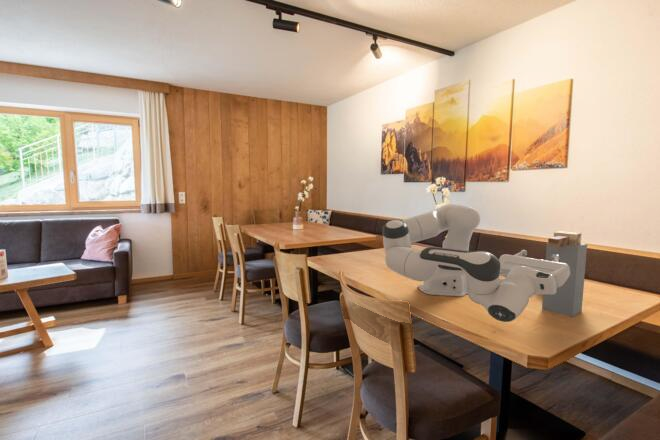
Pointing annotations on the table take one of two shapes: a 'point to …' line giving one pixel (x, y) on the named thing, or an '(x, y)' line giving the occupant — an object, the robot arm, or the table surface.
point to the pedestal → (568, 280)
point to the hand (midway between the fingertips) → (540, 253)
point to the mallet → (564, 239)
